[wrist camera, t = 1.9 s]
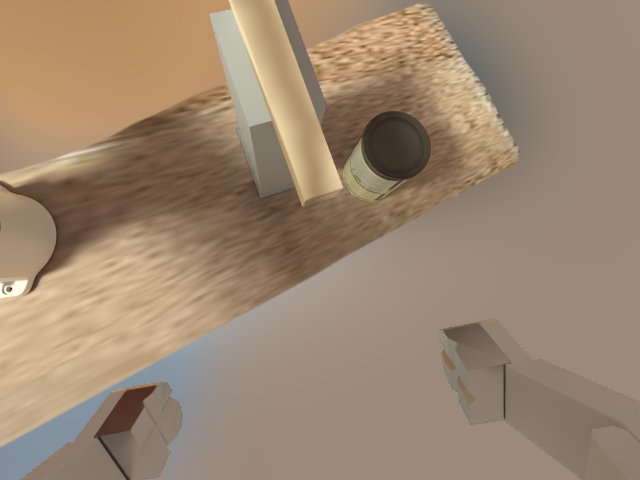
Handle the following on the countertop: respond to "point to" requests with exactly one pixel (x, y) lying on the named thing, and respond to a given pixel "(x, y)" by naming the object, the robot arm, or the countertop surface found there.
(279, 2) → the upright
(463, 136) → the countertop surface
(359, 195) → the coffee can
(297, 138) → the rail
